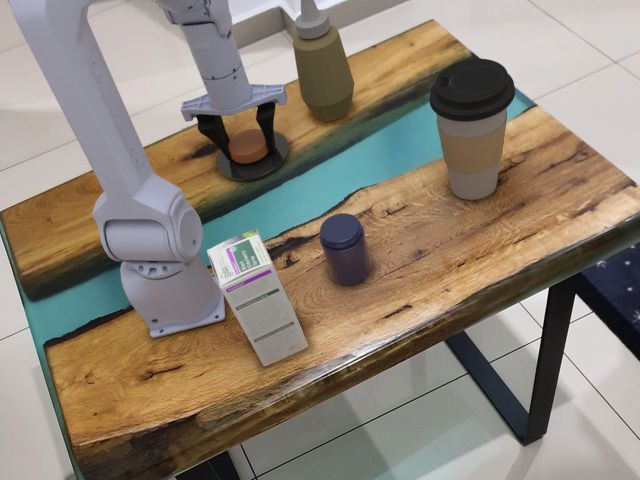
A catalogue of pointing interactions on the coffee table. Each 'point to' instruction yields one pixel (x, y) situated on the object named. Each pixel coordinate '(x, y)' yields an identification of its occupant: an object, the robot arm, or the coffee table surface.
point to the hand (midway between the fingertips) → (251, 152)
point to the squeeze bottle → (322, 64)
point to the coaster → (255, 163)
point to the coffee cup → (472, 123)
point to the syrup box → (257, 297)
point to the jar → (345, 249)
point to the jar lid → (248, 146)
